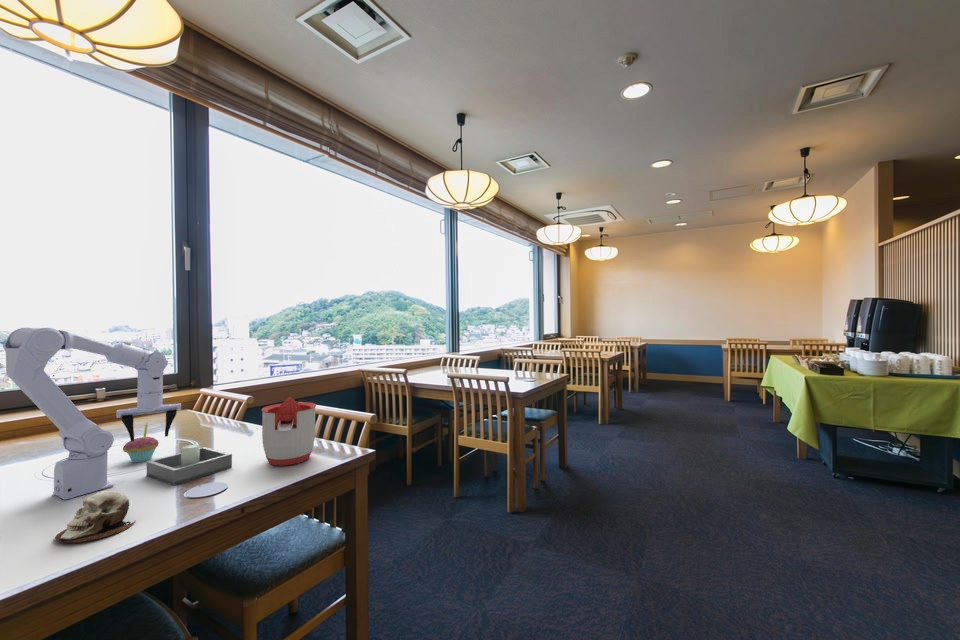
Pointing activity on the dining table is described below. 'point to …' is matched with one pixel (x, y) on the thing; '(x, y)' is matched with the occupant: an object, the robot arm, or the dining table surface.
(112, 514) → the skull
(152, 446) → the cupcake
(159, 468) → the bin
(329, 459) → the dining table surface
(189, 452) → the white pillar candle
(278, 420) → the citrus juicer
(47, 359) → the robot arm
